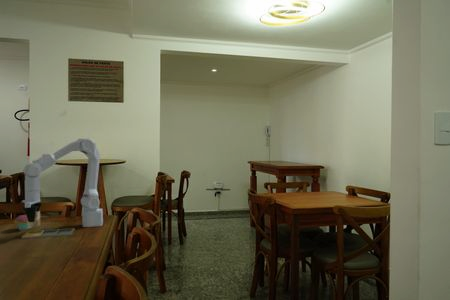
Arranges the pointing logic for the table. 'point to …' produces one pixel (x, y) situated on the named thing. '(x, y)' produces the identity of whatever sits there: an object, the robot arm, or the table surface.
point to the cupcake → (22, 222)
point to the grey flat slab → (48, 233)
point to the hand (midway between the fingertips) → (32, 220)
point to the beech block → (36, 221)
